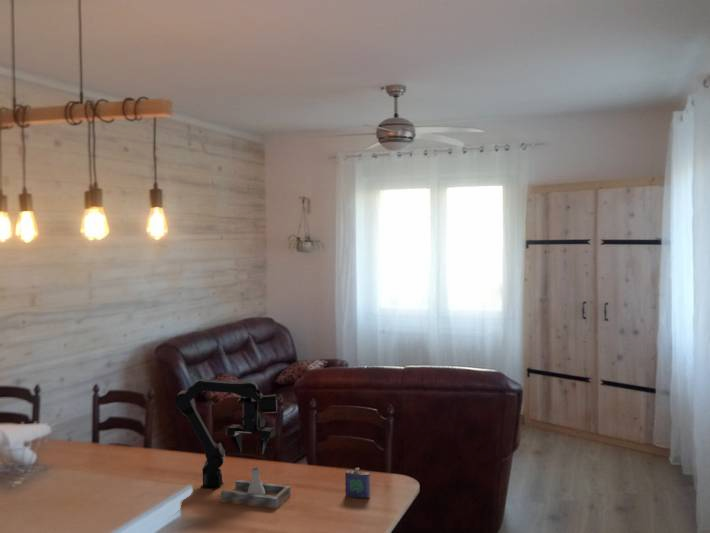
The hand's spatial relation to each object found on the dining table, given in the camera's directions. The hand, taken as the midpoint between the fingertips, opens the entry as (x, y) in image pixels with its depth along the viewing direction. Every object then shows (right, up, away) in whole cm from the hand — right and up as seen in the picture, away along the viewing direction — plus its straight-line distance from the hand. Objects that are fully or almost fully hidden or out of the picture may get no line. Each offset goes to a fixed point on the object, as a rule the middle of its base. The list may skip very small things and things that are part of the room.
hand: (251, 453), depth 245 cm
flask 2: (+41, -12, -13) cm, 45 cm away
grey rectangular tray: (+4, -13, -13) cm, 19 cm away
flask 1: (+4, -12, -13) cm, 18 cm away
